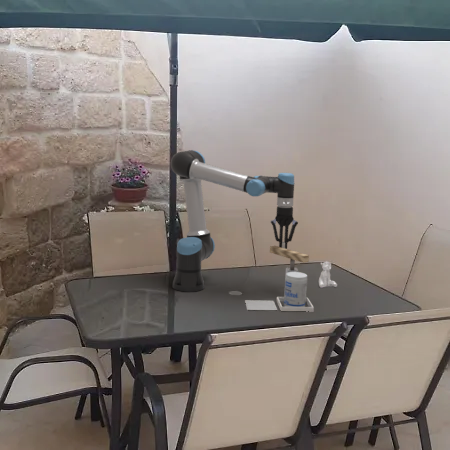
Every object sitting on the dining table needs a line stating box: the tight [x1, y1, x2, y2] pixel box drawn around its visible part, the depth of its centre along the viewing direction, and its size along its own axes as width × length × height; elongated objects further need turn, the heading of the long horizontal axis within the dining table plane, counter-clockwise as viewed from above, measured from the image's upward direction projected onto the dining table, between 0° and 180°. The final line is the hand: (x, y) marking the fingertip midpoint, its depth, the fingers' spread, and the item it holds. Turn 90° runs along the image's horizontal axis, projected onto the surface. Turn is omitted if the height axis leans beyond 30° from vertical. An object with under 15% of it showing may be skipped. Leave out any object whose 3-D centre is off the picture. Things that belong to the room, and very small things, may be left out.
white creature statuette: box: [318, 261, 338, 289], centre depth 299 cm, size 10×9×12 cm
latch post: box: [284, 266, 299, 278], centre depth 275 cm, size 5×5×14 cm
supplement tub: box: [283, 271, 308, 307], centre depth 264 cm, size 10×10×15 cm
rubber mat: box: [244, 299, 278, 311], centre depth 264 cm, size 13×13×1 cm
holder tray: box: [276, 296, 315, 313], centre depth 265 cm, size 14×14×2 cm
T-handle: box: [269, 245, 310, 269], centre depth 275 cm, size 22×3×8 cm, turn 37°
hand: (282, 255), depth 284 cm, fingers closed
